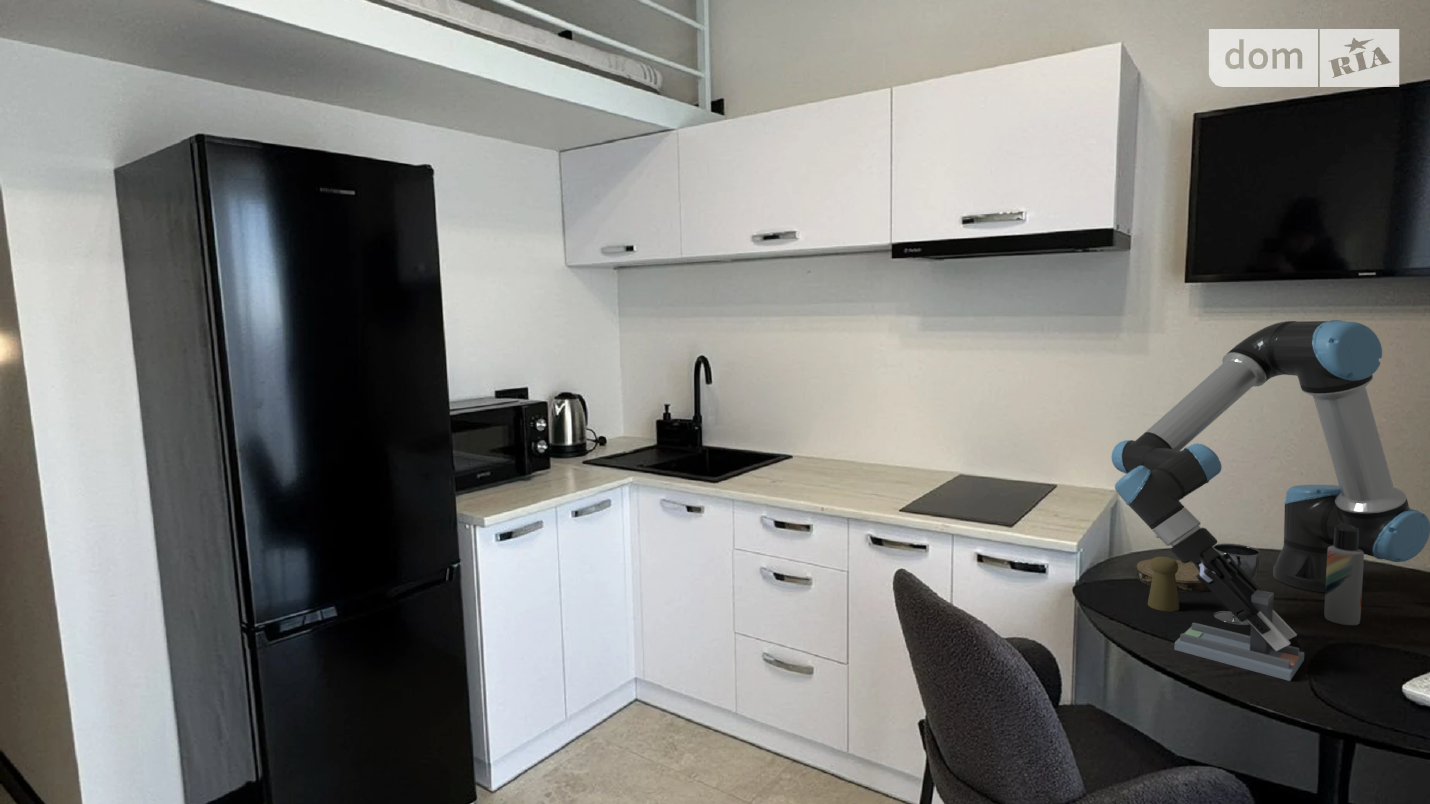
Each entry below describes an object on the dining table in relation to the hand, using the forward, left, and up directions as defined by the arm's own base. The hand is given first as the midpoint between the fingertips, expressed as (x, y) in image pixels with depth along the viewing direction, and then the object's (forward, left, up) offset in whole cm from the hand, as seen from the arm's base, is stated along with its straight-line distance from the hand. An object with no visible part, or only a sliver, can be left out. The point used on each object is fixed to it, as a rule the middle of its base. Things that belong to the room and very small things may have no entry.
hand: (1286, 642), depth 134 cm
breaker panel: (+5, -5, -5) cm, 9 cm away
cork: (+6, -29, -5) cm, 30 cm away
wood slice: (-5, -45, -5) cm, 46 cm away
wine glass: (-5, -22, -5) cm, 23 cm away
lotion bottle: (-25, -20, -5) cm, 32 cm away
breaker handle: (+3, -3, -3) cm, 5 cm away
